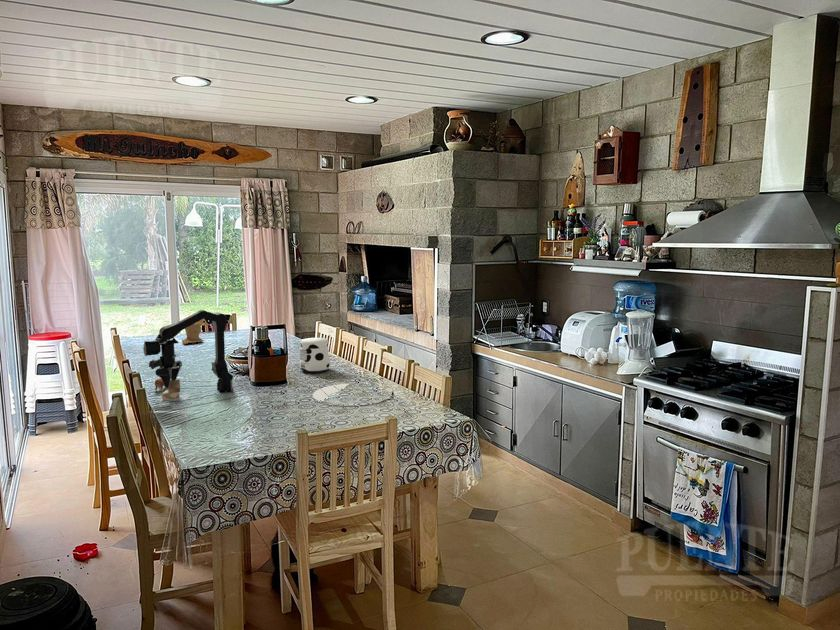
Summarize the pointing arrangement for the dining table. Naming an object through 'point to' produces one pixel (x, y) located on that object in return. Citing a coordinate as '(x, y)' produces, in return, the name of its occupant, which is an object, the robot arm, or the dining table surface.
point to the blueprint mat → (181, 397)
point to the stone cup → (192, 334)
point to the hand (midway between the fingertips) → (170, 385)
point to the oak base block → (170, 395)
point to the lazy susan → (332, 391)
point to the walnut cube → (174, 386)
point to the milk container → (314, 355)
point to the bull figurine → (159, 384)
